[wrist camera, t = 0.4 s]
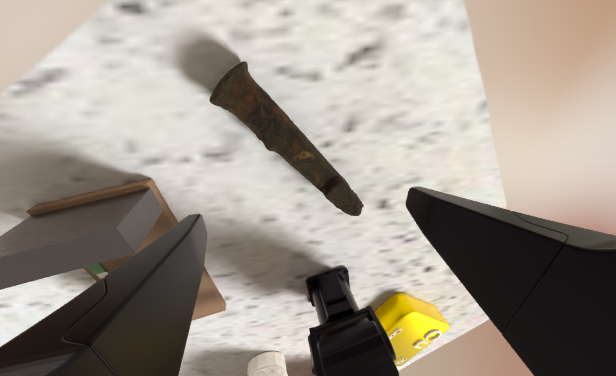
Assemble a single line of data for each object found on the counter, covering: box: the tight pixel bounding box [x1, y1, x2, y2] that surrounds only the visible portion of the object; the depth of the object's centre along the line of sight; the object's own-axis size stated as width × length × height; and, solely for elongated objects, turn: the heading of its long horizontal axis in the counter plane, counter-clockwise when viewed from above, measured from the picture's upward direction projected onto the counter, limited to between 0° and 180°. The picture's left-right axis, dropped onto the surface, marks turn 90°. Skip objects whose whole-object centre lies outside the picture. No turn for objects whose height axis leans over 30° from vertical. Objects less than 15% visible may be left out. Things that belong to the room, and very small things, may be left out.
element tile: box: [374, 293, 449, 366], centre depth 43 cm, size 15×15×5 cm
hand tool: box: [210, 62, 363, 216], centre depth 21 cm, size 19×4×5 cm, turn 39°
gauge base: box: [26, 178, 226, 320], centre depth 25 cm, size 20×10×1 cm, turn 9°
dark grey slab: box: [0, 188, 163, 290], centre depth 18 cm, size 2×10×6 cm, turn 99°
